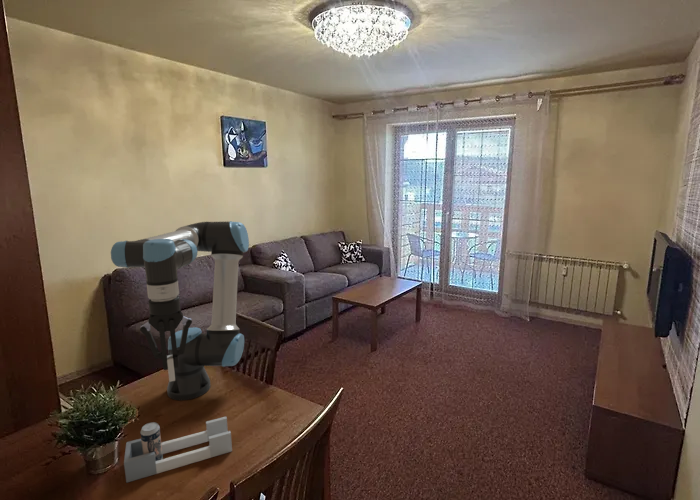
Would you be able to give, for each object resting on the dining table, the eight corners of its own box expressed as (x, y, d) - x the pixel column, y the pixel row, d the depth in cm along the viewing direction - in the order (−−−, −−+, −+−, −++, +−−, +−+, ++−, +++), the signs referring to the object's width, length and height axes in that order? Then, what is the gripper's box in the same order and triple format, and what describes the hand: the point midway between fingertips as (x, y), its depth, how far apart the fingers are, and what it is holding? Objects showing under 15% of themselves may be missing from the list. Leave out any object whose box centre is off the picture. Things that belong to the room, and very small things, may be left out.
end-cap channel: (128, 460, 111) (126, 442, 110) (227, 433, 123) (226, 416, 121) (126, 482, 103) (123, 462, 102) (232, 451, 115) (230, 433, 114)
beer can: (155, 472, 107) (151, 433, 104) (140, 469, 108) (135, 431, 105) (167, 460, 111) (163, 422, 109) (152, 457, 112) (148, 420, 110)
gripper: (135, 305, 97) (145, 391, 102) (191, 298, 103) (198, 379, 107) (136, 297, 104) (146, 378, 109) (189, 290, 110) (196, 368, 114)
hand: (172, 378), depth 108 cm, fingers closed
